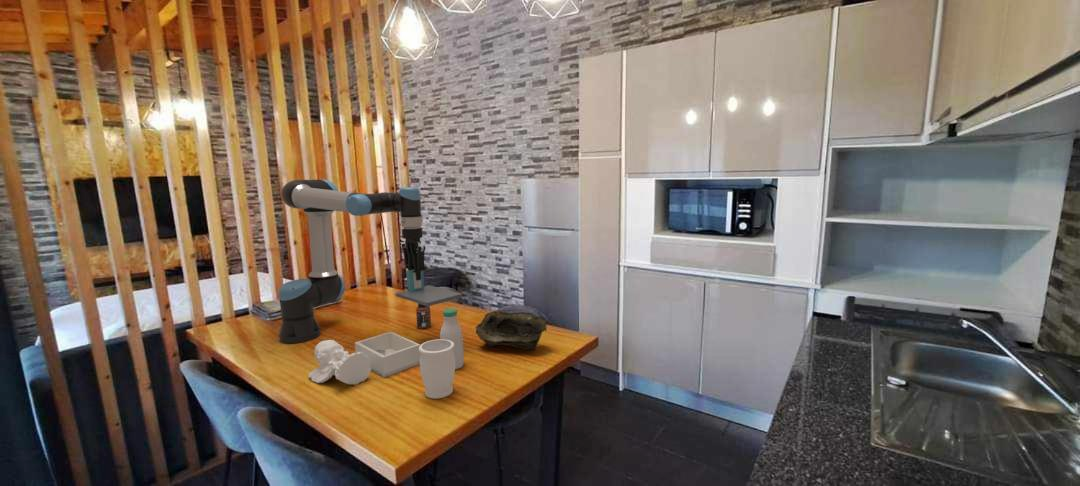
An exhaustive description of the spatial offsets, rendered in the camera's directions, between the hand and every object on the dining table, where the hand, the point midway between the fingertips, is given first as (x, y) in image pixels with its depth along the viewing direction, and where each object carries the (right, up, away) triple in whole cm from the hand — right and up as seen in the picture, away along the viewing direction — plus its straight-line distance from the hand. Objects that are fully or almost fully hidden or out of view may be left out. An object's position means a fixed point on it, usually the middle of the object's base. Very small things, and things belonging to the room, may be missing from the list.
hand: (415, 287), depth 167 cm
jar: (+18, -28, -37) cm, 50 cm away
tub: (-5, -25, -15) cm, 30 cm away
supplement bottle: (-2, -20, +21) cm, 29 cm away
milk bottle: (+18, -25, -19) cm, 37 cm away
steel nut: (-10, -24, -14) cm, 29 cm away
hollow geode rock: (+38, -23, -4) cm, 45 cm away
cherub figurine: (-18, -27, -27) cm, 42 cm away
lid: (+6, -3, -5) cm, 9 cm away
